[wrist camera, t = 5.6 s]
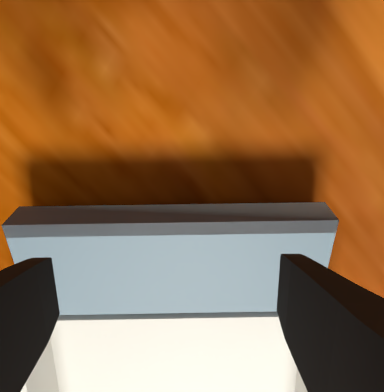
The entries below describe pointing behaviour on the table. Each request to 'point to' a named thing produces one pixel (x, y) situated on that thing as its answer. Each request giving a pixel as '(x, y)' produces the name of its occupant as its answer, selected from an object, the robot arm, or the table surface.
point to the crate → (167, 354)
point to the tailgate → (170, 253)
